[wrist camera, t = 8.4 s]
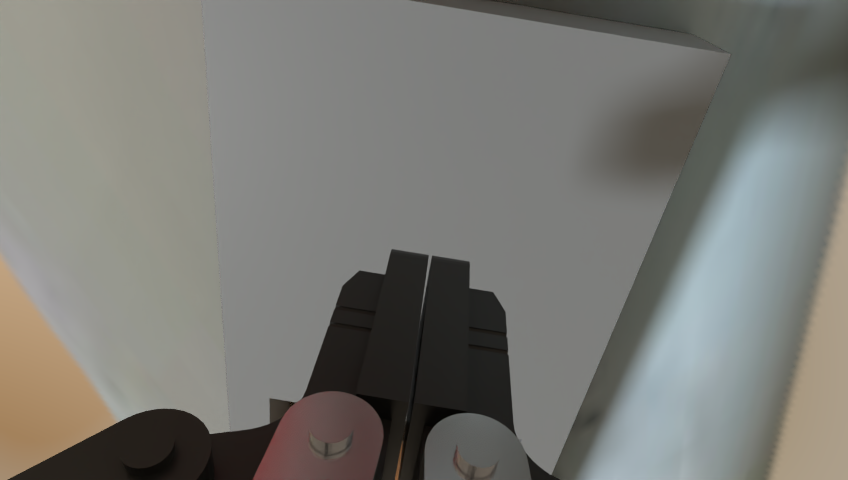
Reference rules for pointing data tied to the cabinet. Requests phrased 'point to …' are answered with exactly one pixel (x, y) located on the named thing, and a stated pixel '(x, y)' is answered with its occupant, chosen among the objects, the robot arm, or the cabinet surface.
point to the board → (441, 176)
